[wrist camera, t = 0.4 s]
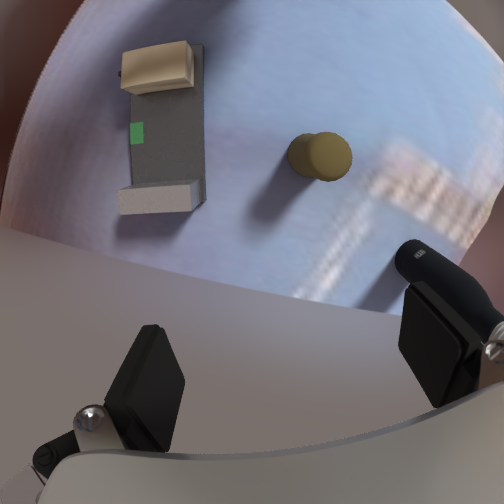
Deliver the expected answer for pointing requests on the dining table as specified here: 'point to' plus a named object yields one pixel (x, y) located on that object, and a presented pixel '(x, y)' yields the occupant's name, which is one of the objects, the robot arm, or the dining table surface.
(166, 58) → the block
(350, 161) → the olive brown pawn
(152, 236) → the dining table surface
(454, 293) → the black water bottle
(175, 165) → the gauge rail
